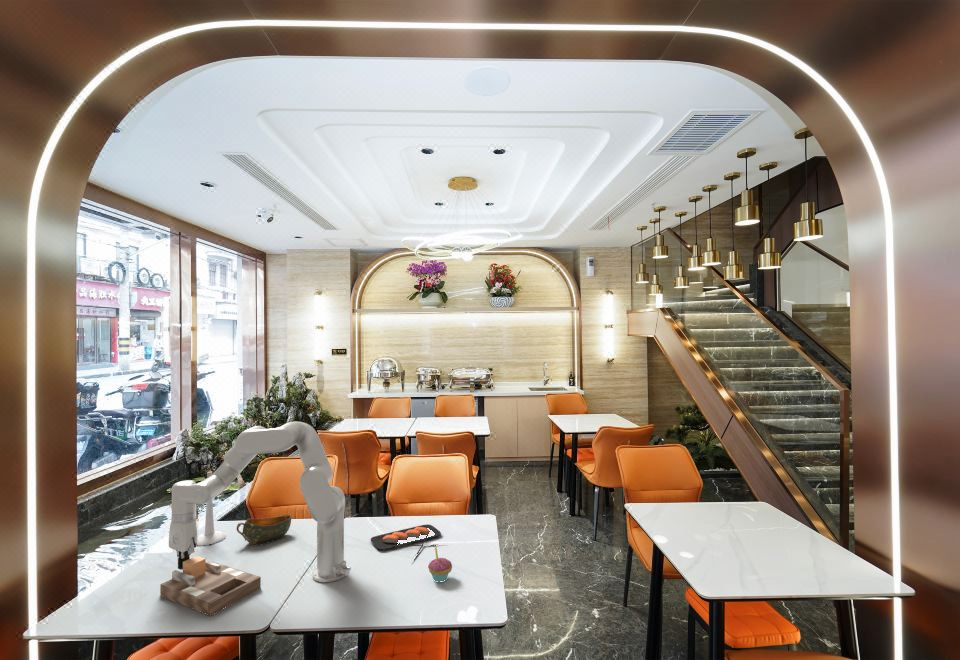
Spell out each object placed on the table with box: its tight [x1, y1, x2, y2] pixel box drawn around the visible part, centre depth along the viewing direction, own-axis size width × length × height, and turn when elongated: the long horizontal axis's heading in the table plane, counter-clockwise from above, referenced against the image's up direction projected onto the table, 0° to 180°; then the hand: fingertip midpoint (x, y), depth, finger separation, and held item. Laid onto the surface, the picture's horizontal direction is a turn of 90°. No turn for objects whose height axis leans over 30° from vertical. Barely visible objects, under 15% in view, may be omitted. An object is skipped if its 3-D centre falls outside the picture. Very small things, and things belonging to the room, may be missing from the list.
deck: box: [159, 559, 262, 616], centre depth 158 cm, size 27×18×6 cm, turn 64°
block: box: [182, 555, 207, 578], centre depth 162 cm, size 5×5×5 cm
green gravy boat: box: [236, 514, 292, 546], centre depth 200 cm, size 13×20×10 cm, turn 100°
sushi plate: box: [370, 524, 442, 555], centre depth 193 cm, size 29×30×4 cm
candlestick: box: [197, 470, 227, 547], centre depth 201 cm, size 13×13×30 cm
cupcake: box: [427, 544, 453, 582], centre depth 165 cm, size 9×8×12 cm
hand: (183, 567), depth 165 cm, fingers closed
